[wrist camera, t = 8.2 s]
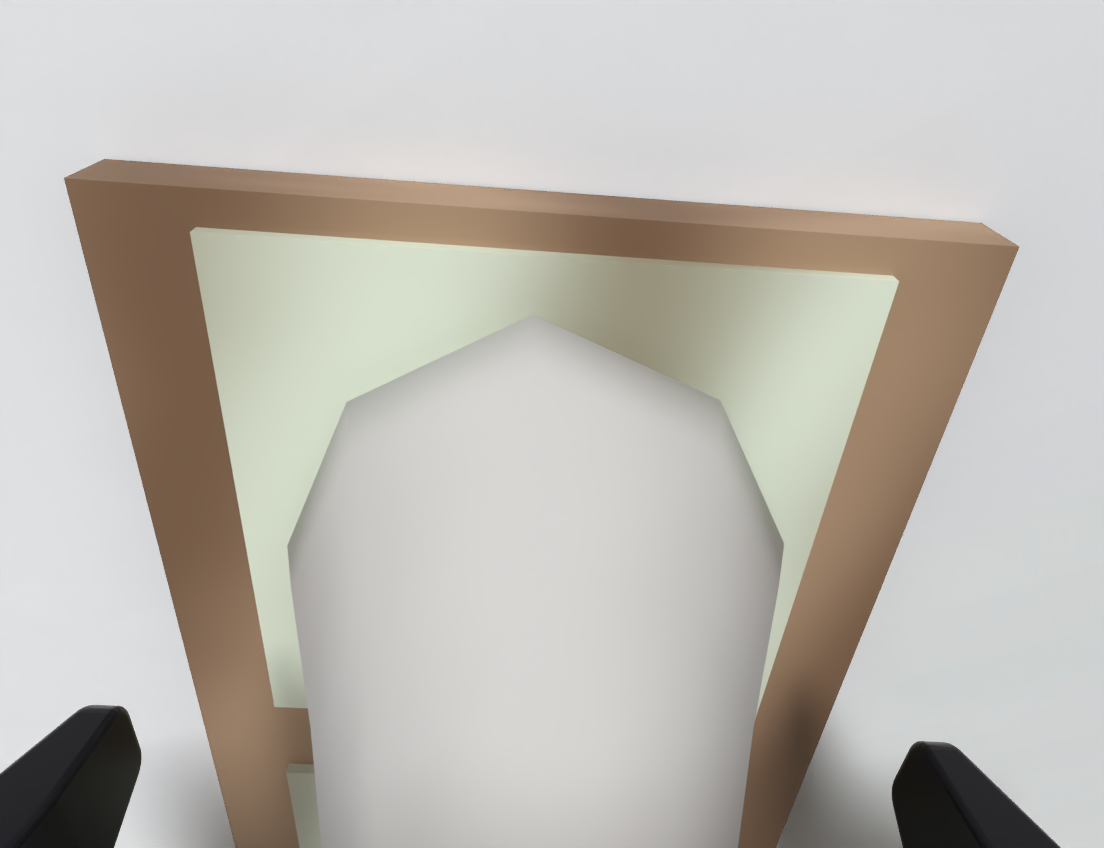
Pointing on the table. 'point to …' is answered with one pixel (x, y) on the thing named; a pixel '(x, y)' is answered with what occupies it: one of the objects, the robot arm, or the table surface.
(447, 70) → the table surface
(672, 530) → the flask
